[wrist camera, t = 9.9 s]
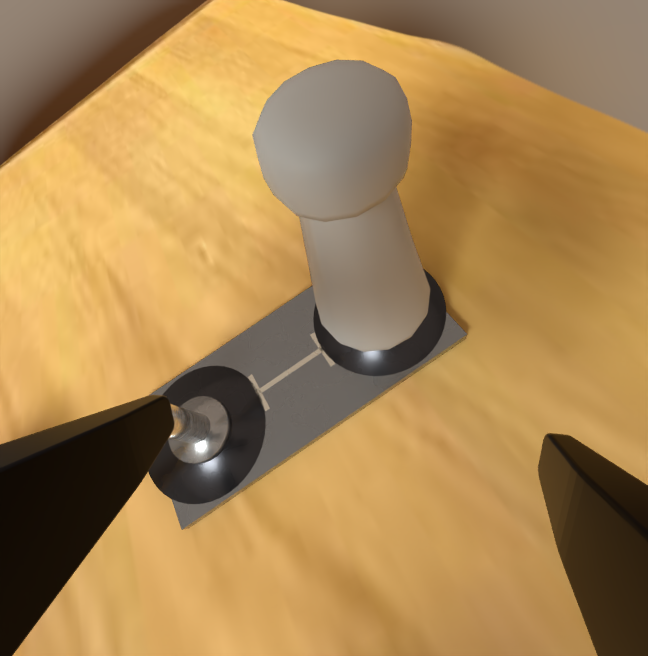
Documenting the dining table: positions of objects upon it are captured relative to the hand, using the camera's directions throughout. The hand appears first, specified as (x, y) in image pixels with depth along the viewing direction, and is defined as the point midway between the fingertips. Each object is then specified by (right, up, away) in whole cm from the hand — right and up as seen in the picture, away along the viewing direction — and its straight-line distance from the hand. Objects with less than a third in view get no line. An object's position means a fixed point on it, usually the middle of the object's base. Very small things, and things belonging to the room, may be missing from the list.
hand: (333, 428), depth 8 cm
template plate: (-2, 0, +12) cm, 13 cm away
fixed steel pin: (-7, -4, +12) cm, 15 cm away
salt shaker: (+3, +3, +12) cm, 13 cm away
